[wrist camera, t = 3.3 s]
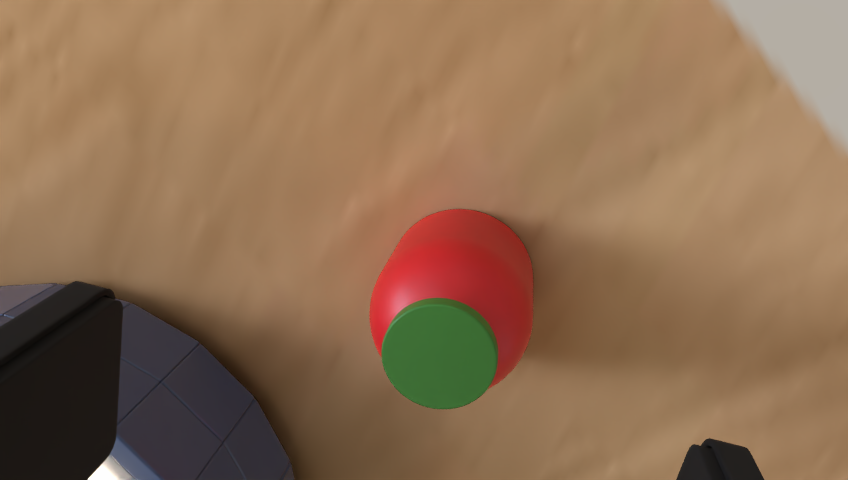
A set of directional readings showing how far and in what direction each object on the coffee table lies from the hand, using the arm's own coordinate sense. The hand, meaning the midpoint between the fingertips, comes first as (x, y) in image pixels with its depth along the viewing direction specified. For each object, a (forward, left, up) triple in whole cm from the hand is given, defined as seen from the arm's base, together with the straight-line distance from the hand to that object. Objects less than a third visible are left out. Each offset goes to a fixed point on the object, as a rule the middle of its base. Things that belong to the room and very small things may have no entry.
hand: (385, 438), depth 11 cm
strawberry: (0, 0, -8) cm, 8 cm away
